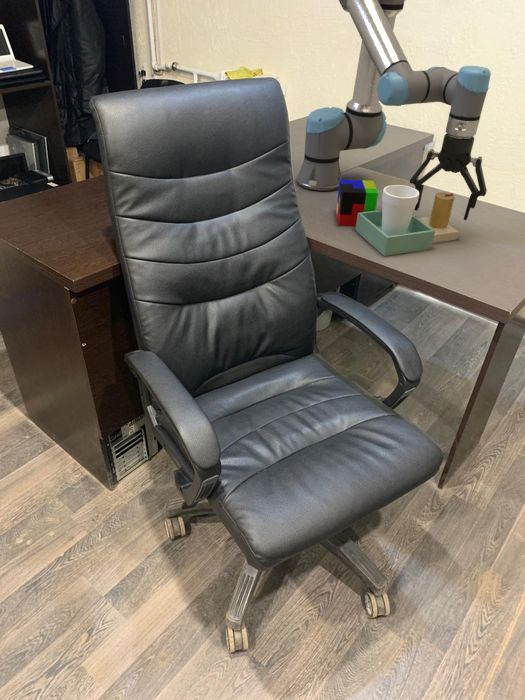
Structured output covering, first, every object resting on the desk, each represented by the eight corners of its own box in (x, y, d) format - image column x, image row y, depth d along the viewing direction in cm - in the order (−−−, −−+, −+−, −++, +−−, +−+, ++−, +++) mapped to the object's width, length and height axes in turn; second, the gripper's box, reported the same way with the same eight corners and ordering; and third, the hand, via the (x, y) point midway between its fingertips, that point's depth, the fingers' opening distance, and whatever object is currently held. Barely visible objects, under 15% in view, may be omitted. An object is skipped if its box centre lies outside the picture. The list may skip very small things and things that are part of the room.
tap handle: (435, 229, 147) (443, 199, 142) (425, 222, 151) (431, 192, 145) (451, 227, 148) (459, 197, 143) (440, 219, 152) (447, 190, 147)
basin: (355, 230, 151) (357, 212, 148) (399, 224, 155) (402, 207, 152) (384, 256, 139) (387, 237, 136) (431, 248, 143) (435, 230, 140)
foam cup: (409, 246, 142) (419, 199, 134) (375, 242, 144) (383, 196, 136) (409, 231, 150) (418, 186, 142) (376, 227, 151) (383, 183, 143)
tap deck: (410, 227, 154) (412, 218, 152) (439, 223, 157) (441, 214, 155) (432, 243, 146) (434, 234, 144) (461, 238, 148) (463, 230, 147)
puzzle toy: (336, 211, 162) (339, 179, 156) (368, 212, 162) (373, 180, 155) (338, 225, 154) (342, 192, 148) (372, 226, 154) (378, 193, 148)
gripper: (408, 131, 136) (393, 209, 149) (509, 146, 128) (485, 227, 141) (414, 124, 141) (400, 200, 154) (512, 138, 133) (488, 217, 146)
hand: (440, 213), depth 148 cm, fingers open, 13 cm apart
